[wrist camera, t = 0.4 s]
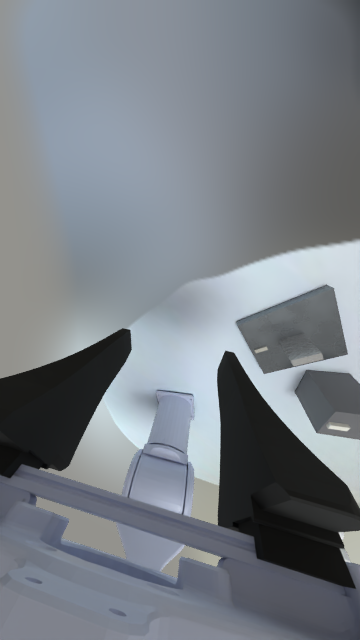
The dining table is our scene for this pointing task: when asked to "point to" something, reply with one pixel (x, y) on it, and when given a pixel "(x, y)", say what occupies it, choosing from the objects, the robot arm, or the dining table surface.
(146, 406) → the dining table surface
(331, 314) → the plate
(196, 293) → the dining table surface
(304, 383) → the grey cube with tab
